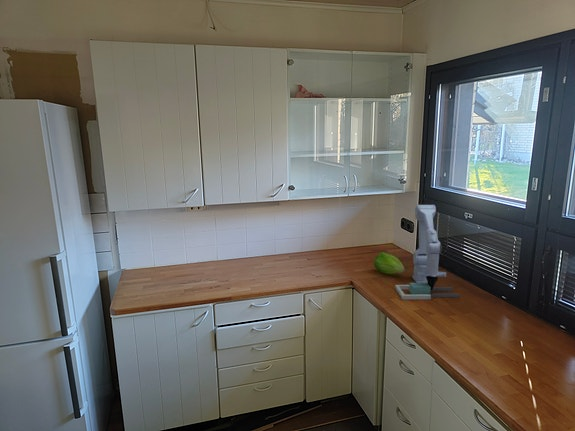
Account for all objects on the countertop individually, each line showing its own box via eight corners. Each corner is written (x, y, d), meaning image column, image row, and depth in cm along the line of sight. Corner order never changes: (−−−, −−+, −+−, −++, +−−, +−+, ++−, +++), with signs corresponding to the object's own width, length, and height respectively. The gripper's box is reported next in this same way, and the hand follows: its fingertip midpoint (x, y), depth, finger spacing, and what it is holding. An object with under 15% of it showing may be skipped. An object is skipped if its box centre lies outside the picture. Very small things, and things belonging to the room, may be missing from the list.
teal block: (409, 291, 205) (409, 282, 203) (426, 291, 204) (426, 282, 203) (412, 296, 199) (413, 287, 198) (429, 296, 199) (430, 287, 197)
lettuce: (393, 282, 217) (395, 262, 215) (369, 271, 234) (369, 253, 231) (410, 277, 225) (411, 257, 222) (385, 267, 241) (385, 249, 239)
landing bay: (395, 288, 209) (395, 284, 208) (421, 288, 209) (421, 284, 208) (402, 299, 195) (402, 295, 195) (430, 299, 195) (430, 295, 195)
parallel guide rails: (424, 289, 206) (424, 287, 206) (451, 289, 206) (452, 287, 206) (430, 297, 197) (430, 294, 197) (459, 297, 197) (459, 294, 197)
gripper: (420, 267, 194) (419, 292, 197) (449, 267, 194) (447, 292, 197) (416, 263, 201) (415, 287, 204) (444, 262, 201) (442, 286, 204)
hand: (430, 289), depth 201 cm, fingers closed
